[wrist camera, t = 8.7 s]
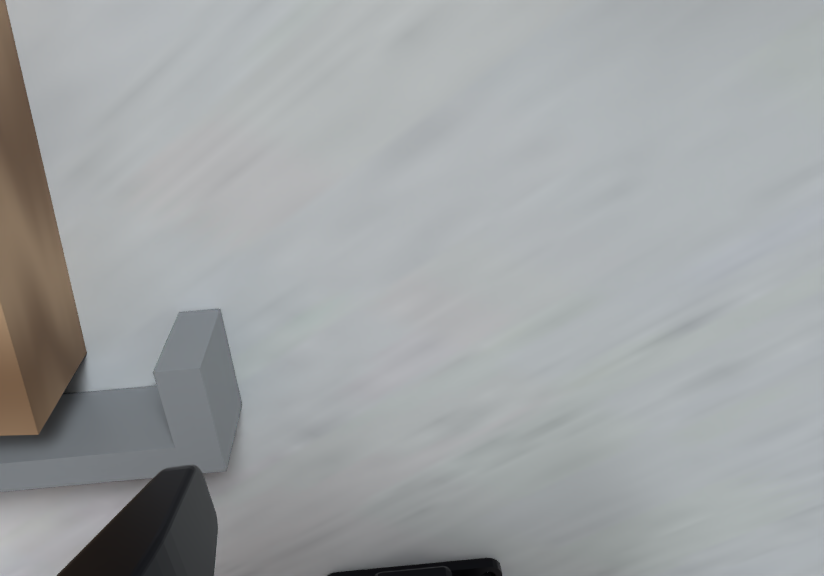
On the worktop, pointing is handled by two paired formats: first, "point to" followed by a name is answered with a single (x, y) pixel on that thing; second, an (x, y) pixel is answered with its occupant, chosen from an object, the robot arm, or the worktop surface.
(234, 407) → the end cap
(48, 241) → the slat
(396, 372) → the worktop surface
